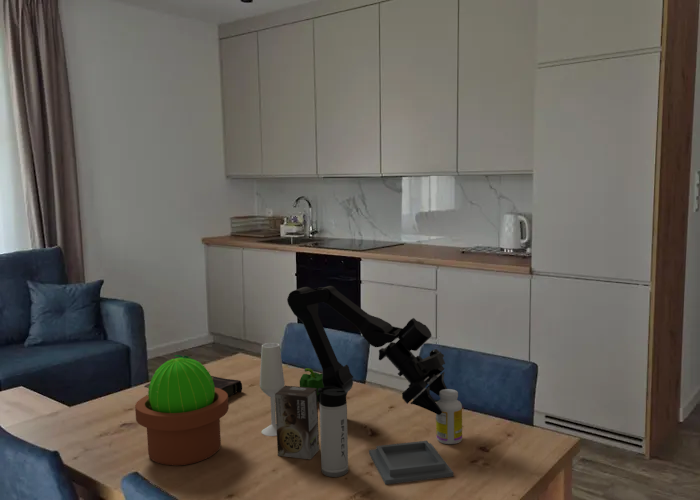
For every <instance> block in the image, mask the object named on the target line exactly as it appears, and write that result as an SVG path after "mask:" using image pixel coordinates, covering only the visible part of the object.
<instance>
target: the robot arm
mask: <svg viewBox="0 0 700 500" xmlns="http://www.w3.org/2000/svg"><path fill="white" fill-rule="evenodd" d="M286 300H287V301H286V302H287V305H288V307H289V308H290V310H291V312H292V313H293V315H294V316H295V317H296V318H298V319H299V320H300V321H301V322H302V324H303V326H304V329H305V332H306V334H307V335H308V338H309V341H310V343H311V345H312V348H313V350H314V352H315V355H316V356H317V360H318V362H319V365H320V366H321V369H322V373H321V374H322V381H323V385H324V387H338V388H341V389H343V390H345V392H346V396H347V394H348V393H349V391H351V389H352V388H353V385H354V380H353V378H354V375H353V374H352V373H351V371H350V367H349V365H348V364H345V365H343V364H341V362H339V360H338V358H337V356H336V354H335V351H334V349H333V347H332V344H331V342H330V340H329V337H328V335H327V332H326V330H325V328H324V326H323V324H322V320H321V319H320V316H319V304H321V303H325V304H326V305H327V306H328V307H330V308H332V310H334V311H336V312H337V313H338V314H339V315H341V316H342V317H343V318H345V320H347V321H348V322H350V323H351V324H353V326H355V327H356V328H357V330H358V331H359V332H360V334H361V336H362V337H363V338H364V339H365V341H367V343H368V344H369V345H370V346H371V347H374V348H379V350H378V360H379V361H382V360H383V359H385V358H387V359H388V360H389V361H390V362H391V364H392V365H393V366H394V367H395V368H396V369H397V370H398V373H397V375H398V376H399V377H402V376H403V378H404V379H405V380H406V381H408V383H409V384H408V387H407V388H406V389H405V390H404V391H403V392H402V393H401V395H402V396H401V398H402V400H403V401H404V402H405V403H406V404H407V405H408V404H409V403H410V404H411V405H415V406H417V407H420V408H422V409H425V410H427V411H430V412H432V413H434V414H435V415H436V414H438V415H440V414H441V413H442V411H441V409H440V408H439V406H438V405H437V402H436V401H435V399H434V398H433V396H432V395H431V392H432V393H434V394H436V396H438V397H440V396H439V395H440V391H441V390H444V389H448V388H447V385H446V383H445V380H444V379H445V374H446V373H445V371H444V370H445V367H444V365H445V364H446V362H445V360H444V357H445V354H443V353H442V351H439V350H438V349H437V348H434V349H432V350H431V351H429V355H428V356H426V357H424V358H422V357H421V356H420V355H417V356H415V355H414V353H413V352H412V351H414V352H416V351H418V350H419V349H420V348H421V347H422V346H423V345H424V344H425V343H426V342H427V341H428V340H429V339H431V337H432V332H431V330H430V329H429V327H428V326H427V325H426V324H424V323H422V322H421V321H420V320H419V321H418V320H417V319H416V318H414V317H412V318H411V319H409V320H408V322H407V323H406V324H405V326H403V328H401V327H398V326H394V325H392V324H391V323H390V322H388V321H386V320H384V319H382V318H381V317H378V316H373V315H371V314H369V313H367V312H366V311H365V310H363V309H362V308H361V307H360V306H359V305H357V304H355V302H353V301H351V299H349V298H348V297H346V296H345V295H344V294H343V293H341V292H340V291H338V289H337V288H336V287H335V286H333V285H328V286H324V287H318V288H317V287H316V288H311V287H309V286H303V287H300V288H297V289H294V290H292V291H291V292H289V294H288V296H287V299H286ZM396 340H397V341H396ZM394 341H396V342H394ZM386 344H388V345H387V346H386V347H384V348H383V346H385V345H386ZM317 399H318V402H317V403H318V404H320V394H318V395H317Z"/></svg>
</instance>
